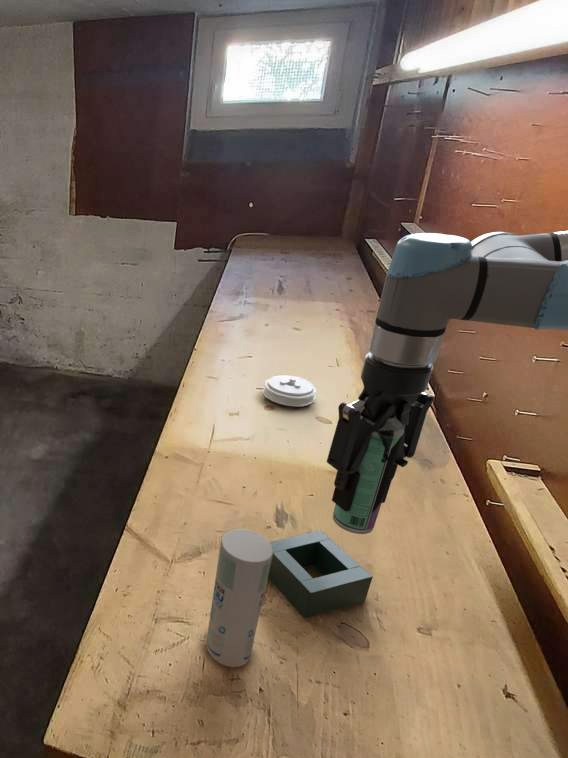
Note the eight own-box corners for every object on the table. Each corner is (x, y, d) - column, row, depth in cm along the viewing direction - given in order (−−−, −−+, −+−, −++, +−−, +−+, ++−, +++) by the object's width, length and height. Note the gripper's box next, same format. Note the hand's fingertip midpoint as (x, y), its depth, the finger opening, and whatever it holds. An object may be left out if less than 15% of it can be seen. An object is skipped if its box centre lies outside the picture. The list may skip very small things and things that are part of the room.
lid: (304, 388, 157) (307, 372, 155) (320, 409, 146) (324, 392, 143) (257, 387, 158) (260, 371, 156) (270, 409, 147) (273, 392, 145)
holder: (364, 602, 90) (373, 576, 87) (304, 619, 87) (310, 593, 85) (314, 553, 100) (320, 529, 97) (258, 567, 97) (263, 543, 95)
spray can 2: (382, 531, 82) (420, 412, 73) (348, 536, 81) (383, 417, 73) (356, 508, 87) (389, 394, 78) (324, 512, 86) (354, 398, 77)
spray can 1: (255, 671, 80) (278, 565, 71) (207, 665, 81) (224, 560, 72) (247, 633, 85) (267, 530, 76) (203, 628, 86) (218, 526, 78)
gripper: (430, 338, 78) (388, 475, 88) (318, 356, 74) (287, 498, 84) (483, 359, 71) (430, 504, 82) (363, 379, 67) (323, 530, 77)
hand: (358, 501), depth 83 cm, fingers closed on spray can 2, 5 cm apart
